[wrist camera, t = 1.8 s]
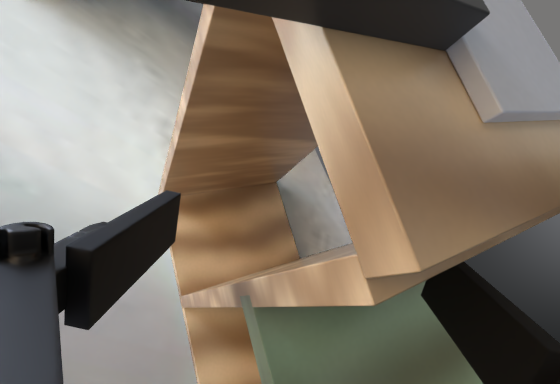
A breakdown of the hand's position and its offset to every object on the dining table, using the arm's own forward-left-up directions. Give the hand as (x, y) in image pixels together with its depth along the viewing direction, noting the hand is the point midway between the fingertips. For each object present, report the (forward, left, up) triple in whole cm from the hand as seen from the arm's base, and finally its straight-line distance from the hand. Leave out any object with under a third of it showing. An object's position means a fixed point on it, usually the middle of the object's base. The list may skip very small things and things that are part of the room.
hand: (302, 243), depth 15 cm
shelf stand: (+1, +4, -21) cm, 21 cm away
